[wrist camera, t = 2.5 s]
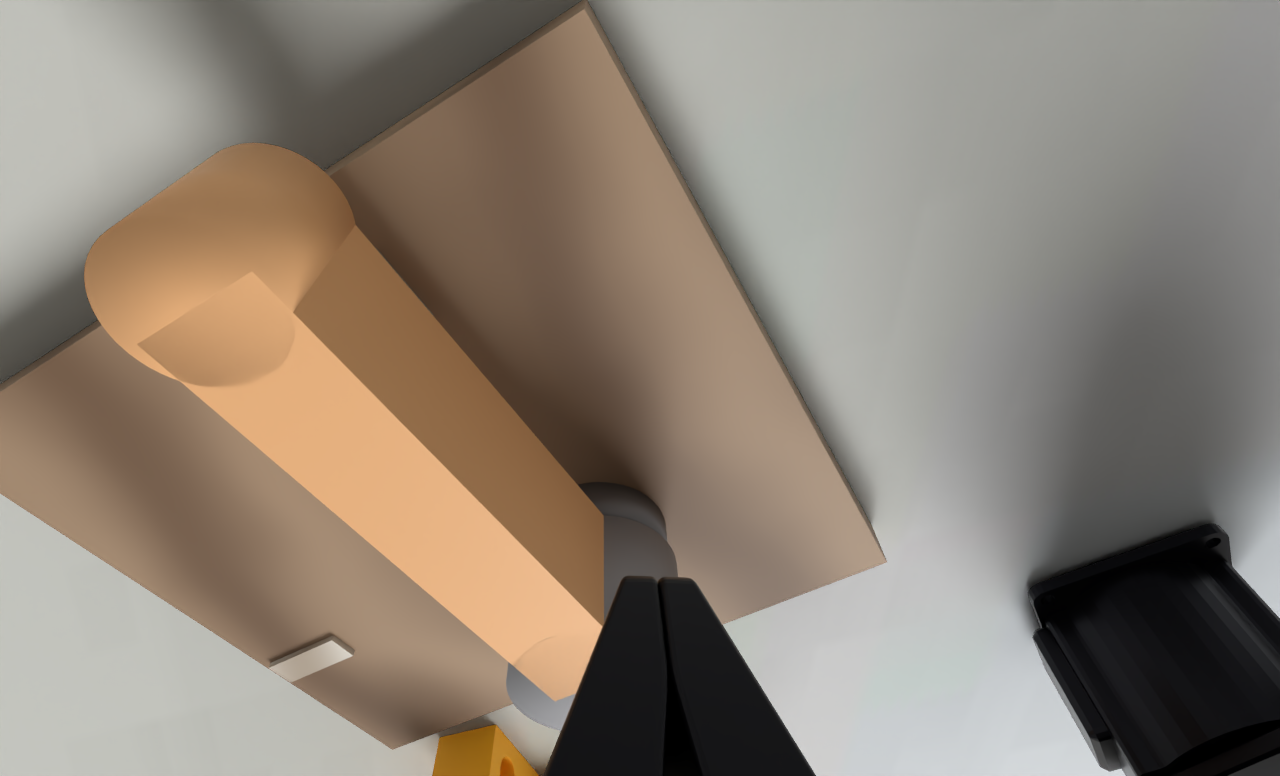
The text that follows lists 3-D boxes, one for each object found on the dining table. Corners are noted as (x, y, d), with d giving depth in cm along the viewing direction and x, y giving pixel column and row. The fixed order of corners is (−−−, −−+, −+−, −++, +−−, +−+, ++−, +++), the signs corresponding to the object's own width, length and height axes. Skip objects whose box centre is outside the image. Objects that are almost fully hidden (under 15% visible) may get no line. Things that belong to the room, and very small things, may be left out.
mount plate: (585, -3, 15) (583, 19, 12) (872, 527, 24) (899, 592, 22) (-36, 407, 20) (-116, 474, 18) (401, 712, 29) (384, 781, 27)
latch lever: (703, 587, 21) (719, 699, 18) (574, 638, 22) (570, 751, 19) (305, 90, 13) (218, 152, 10) (131, 212, 14) (8, 300, 11)
